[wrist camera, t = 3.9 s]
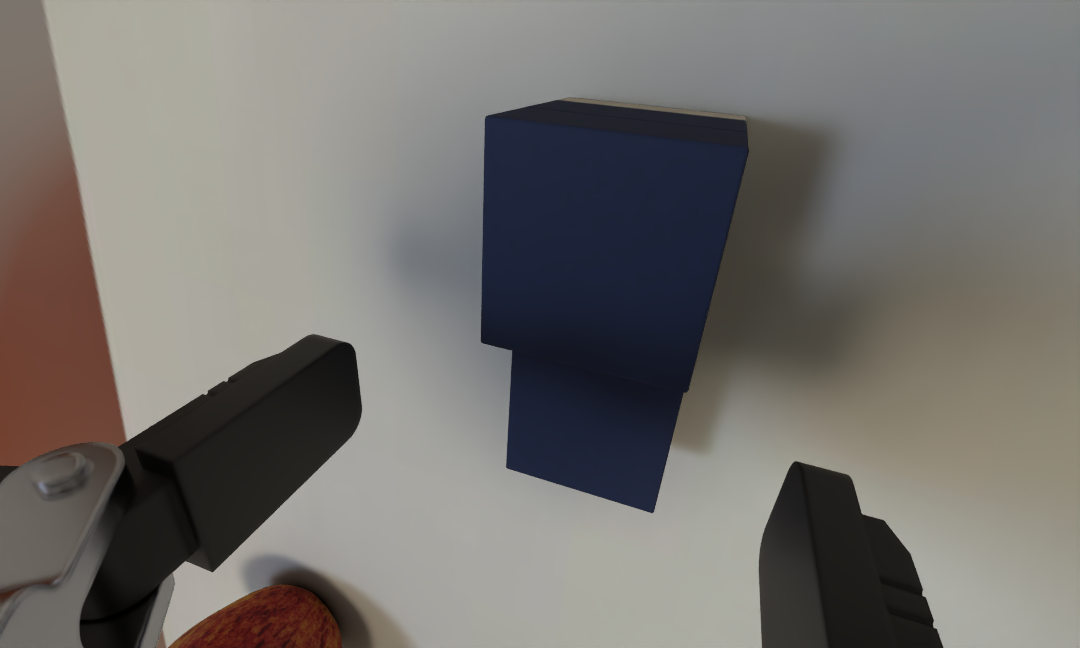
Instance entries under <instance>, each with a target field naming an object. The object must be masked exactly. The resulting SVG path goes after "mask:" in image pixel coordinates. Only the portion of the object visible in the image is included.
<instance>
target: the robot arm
mask: <svg viewBox="0 0 1080 648" xmlns="http://www.w3.org/2000/svg"><path fill="white" fill-rule="evenodd" d="M361 413H362V403H361V395H360V386H359V378H358V369H357V360H356V353H355V350H354V348H353V346H352V345H351V344H349V343H347V342H343V341H339V340H335V339H331V338H327V337H324V336H320V335H315V334H312V335H308V336H306V337H305V338H303V339H301V340H300V341H298V342H297V343H295V344H294V345H292V346H290V347H289V348H287V349H286V350H284V351H283V352H281V353H279V354H276V355H273V356H270V357H268V358H265V359H262V360H259V361H256V362H254V363H252V364H250V365H249V366H247V367H245V368H244V369H242V370H241V371H239V372H237V373H236V374H234V375H233V376H231V377H229V378H228V381H227V382H225V381H223V382H221V383H220V384H218V385H217V386H215V387H213V388H212V389H210V390H209V391H208V394H207V395H204V394H202V395H201V396H199V397H197V398H196V399H194V400H193V401H191V402H189V403H188V404H186V405H185V406H183V407H181V408H180V409H178V410H177V411H175V412H173V413H172V414H170V415H169V416H167V417H165V418H164V419H162V420H161V421H159V422H157V423H156V424H154V425H153V426H151V427H149V428H148V429H146V430H145V431H143V432H141V433H140V434H138V435H137V436H135V437H133V438H132V439H130V440H129V441H127V442H125V443H124V444H122V445H120V446H119V447H116V446H115V445H112V444H108V443H102V442H88V443H80V444H74V445H70V446H66V447H62V448H59V449H56V450H53V451H50V452H48V453H45V454H43V455H40V456H38V457H36V458H34V459H32V460H30V461H28V462H27V463H25V464H23V465H21V466H0V648H156V646H157V643H158V640H159V637H160V633H161V630H162V627H163V623H164V620H165V617H166V613H167V610H168V607H169V603H170V600H171V597H172V593H173V590H174V585H175V582H174V576H173V573H172V572H174V571H175V570H176V569H177V568H178V567H179V566H180V565H181V564H182V563H183V562H185V561H187V562H190V563H192V564H194V565H197V566H199V567H201V568H204V569H206V570H208V571H211V572H214V571H215V570H216V569H217V568H218V567H219V566H220V565H221V564H222V563H223V562H224V561H225V560H226V559H227V558H228V557H229V556H230V555H231V554H232V553H233V552H234V551H235V550H236V549H237V548H238V547H239V546H240V545H241V544H242V543H243V542H244V541H245V540H246V539H247V538H248V537H249V536H250V535H251V534H252V533H253V532H254V531H255V530H256V529H258V528H259V527H260V526H261V525H262V524H263V523H264V522H265V521H266V520H267V519H268V518H269V517H270V516H271V515H272V514H273V513H274V512H275V511H276V510H277V509H278V508H279V507H280V506H281V505H282V504H283V503H284V502H285V501H286V500H287V499H288V498H289V497H290V496H291V495H292V494H293V493H294V492H295V491H296V490H297V489H298V488H299V487H300V486H302V485H303V484H304V483H305V482H306V481H307V480H308V479H309V478H310V477H311V476H312V475H313V474H314V473H315V472H316V471H317V470H318V469H319V468H320V467H321V466H322V465H323V464H324V463H325V462H326V461H327V460H328V459H329V458H330V457H331V456H332V455H333V454H334V453H335V452H336V451H337V450H338V449H339V448H340V447H341V446H342V445H343V444H344V443H345V442H347V441H348V440H349V439H350V437H351V436H352V435H353V434H354V432H355V430H356V429H357V426H358V424H359V422H360V418H361ZM759 586H760V609H761V633H762V648H943V645H942V643H941V640H940V637H939V634H938V631H937V629H935V628H933V621H934V620H933V617H932V614H931V611H930V608H929V606H928V603H927V600H926V597H923V596H922V591H923V588H922V586H921V583H920V580H919V577H918V574H917V571H916V568H915V566H914V563H913V560H912V557H911V554H910V553H909V552H908V550H907V549H906V548H905V547H904V545H903V544H902V543H901V541H900V540H899V539H898V538H897V536H896V535H895V534H894V533H893V531H892V530H891V529H890V527H889V526H888V525H887V524H886V522H885V521H884V520H880V519H877V518H873V517H870V516H866V515H862V513H861V509H860V506H859V502H858V498H857V495H856V491H855V488H854V484H853V481H852V479H851V477H850V476H849V475H846V474H843V473H839V472H835V471H831V470H827V469H824V468H820V467H816V466H812V465H808V464H804V463H801V462H797V461H796V462H794V463H793V464H792V465H791V467H790V468H789V470H788V473H787V475H786V478H785V480H784V483H783V485H782V488H781V490H780V492H779V495H778V497H777V500H776V502H775V505H774V507H773V510H772V512H771V515H770V517H769V520H768V522H767V525H766V527H765V530H764V533H763V537H762V542H761V547H760V555H759Z"/></svg>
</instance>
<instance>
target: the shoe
mask: <svg viewBox="0 0 1080 648" xmlns="http://www.w3.org/2000/svg"><path fill="white" fill-rule="evenodd" d="M747 135H748V134H747V124H746V117H745V116H739V115H730V114H720V113H711V112H702V111H692V110H683V109H674V108H664V107H655V106H645V105H636V104H627V103H617V102H608V101H598V100H589V99H580V98H570V97H569V98H565V99H560V100H555V101H551V102H546V103H542V104H537V105H533V106H528V107H524V108H520V109H515V110H511V111H506V112H502V113H497V114H493V115H488V116H486V118H485V148H484V202H483V256H482V311H481V342H482V343H484V344H488V345H492V346H496V347H500V348H504V349H508V350H512V367H511V386H510V405H509V424H508V443H507V463H506V468H508V469H511V470H514V471H517V472H521V473H524V474H527V475H530V476H534V477H537V478H540V479H543V480H547V481H550V482H553V483H556V484H559V485H563V486H566V487H569V488H572V489H576V490H579V491H582V492H585V493H589V494H592V495H595V496H598V497H602V498H605V499H608V500H611V501H615V502H618V503H621V504H624V505H628V506H631V507H634V508H637V509H641V510H644V511H647V512H650V513H653V512H654V509H655V505H656V501H657V497H658V493H659V489H660V485H661V481H662V477H663V473H664V469H665V465H666V461H667V457H668V453H669V449H670V445H671V441H672V437H673V433H674V429H675V425H676V421H677V417H678V413H679V409H680V405H681V401H682V397H683V393H686V392H687V391H688V390H689V386H690V382H691V378H692V374H693V370H694V366H695V362H696V358H697V354H698V350H699V346H700V342H701V338H702V335H703V331H704V327H705V323H706V319H707V315H708V311H709V307H710V303H711V299H712V295H713V291H714V287H715V283H716V279H717V275H718V271H719V267H720V263H721V260H722V256H723V252H724V248H725V244H726V240H727V236H728V232H729V228H730V224H731V220H732V216H733V212H734V208H735V204H736V200H737V196H738V192H739V188H740V185H741V181H742V177H743V173H744V169H745V165H746V161H747V157H748V153H749V148H748V137H747Z"/></svg>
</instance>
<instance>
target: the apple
mask: <svg viewBox="0 0 1080 648" xmlns="http://www.w3.org/2000/svg"><path fill="white" fill-rule="evenodd" d="M168 648H342V640H341V634H340V630H339V627H338V624H337V622H336V621H335V619H334V617H333V616H332V614H331V613H330V611H329V610H328V608H327V607H326V606H325V605H324V604H323V603H322V602H321V601H320V599H319V598H318V597H317V596H316V595H315V594H313V593H312V592H310V591H307V590H305V589H303V588H300V587H297V586H293V585H273V586H269V587H265V588H263V589H260V590H257V591H255V592H253V593H250V594H248V595H246V596H244V597H242V598H241V599H239V600H237V601H235V602H233V603H231V604H230V605H228V606H226V607H224V608H223V609H221V610H219V611H217V612H216V613H214V614H212V615H210V616H209V617H207V618H206V619H204V620H203V621H201V622H199V623H198V624H196V625H195V626H193V627H192V628H191V629H189V630H188V631H187V632H185V633H184V634H183V635H182V636H180V637H179V638H178V639H177V640H176V641H175V642H174V643H173V644H172V645H170V646H169V647H168Z"/></svg>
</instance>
